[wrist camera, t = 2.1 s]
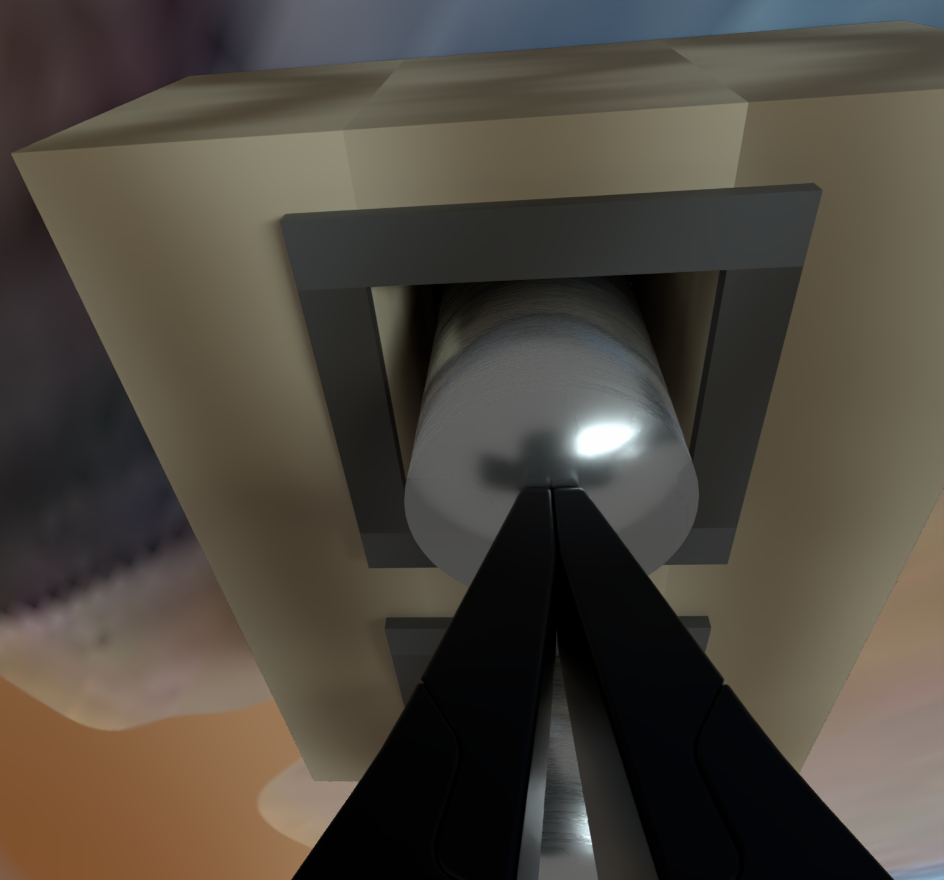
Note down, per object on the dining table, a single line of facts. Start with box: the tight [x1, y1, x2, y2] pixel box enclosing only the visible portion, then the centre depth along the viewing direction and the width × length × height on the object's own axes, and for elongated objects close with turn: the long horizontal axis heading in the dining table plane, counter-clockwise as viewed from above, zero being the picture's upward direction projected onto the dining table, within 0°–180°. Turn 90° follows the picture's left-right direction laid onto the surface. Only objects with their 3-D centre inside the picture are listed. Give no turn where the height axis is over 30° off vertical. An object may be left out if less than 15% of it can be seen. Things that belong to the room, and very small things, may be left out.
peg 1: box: [404, 275, 699, 587], centre depth 11 cm, size 4×4×6 cm
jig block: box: [11, 21, 944, 781], centre depth 16 cm, size 14×18×6 cm
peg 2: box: [538, 655, 598, 880], centre depth 15 cm, size 4×4×6 cm
